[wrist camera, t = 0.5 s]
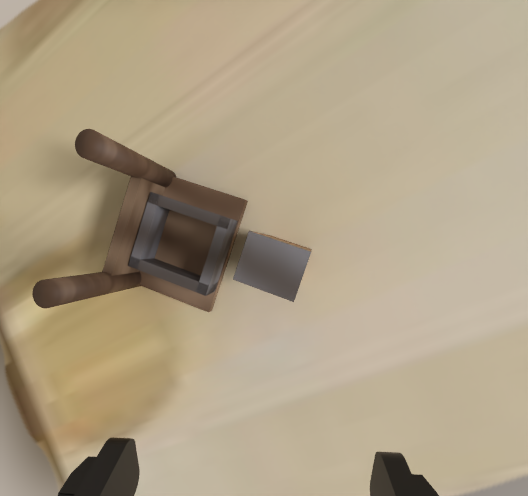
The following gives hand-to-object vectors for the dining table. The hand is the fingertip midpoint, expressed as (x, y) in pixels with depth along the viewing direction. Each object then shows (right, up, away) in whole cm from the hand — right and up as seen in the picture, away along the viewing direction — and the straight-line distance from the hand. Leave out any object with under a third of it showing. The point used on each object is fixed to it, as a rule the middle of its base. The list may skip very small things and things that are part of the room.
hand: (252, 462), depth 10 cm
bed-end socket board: (-9, +8, +26) cm, 29 cm away
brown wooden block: (+3, +6, +24) cm, 25 cm away
